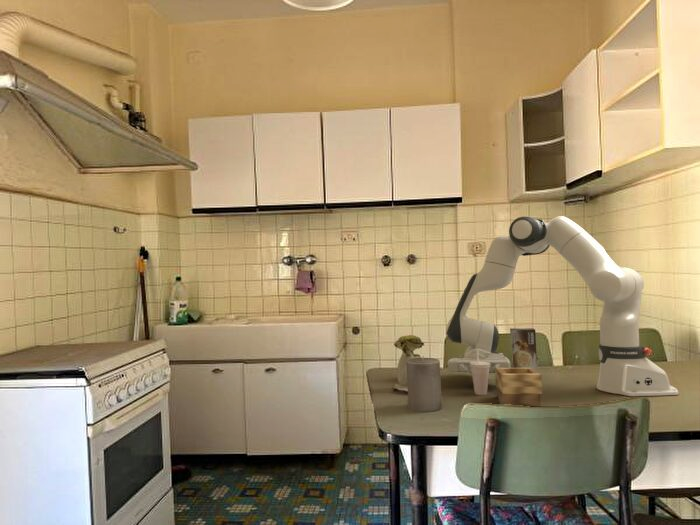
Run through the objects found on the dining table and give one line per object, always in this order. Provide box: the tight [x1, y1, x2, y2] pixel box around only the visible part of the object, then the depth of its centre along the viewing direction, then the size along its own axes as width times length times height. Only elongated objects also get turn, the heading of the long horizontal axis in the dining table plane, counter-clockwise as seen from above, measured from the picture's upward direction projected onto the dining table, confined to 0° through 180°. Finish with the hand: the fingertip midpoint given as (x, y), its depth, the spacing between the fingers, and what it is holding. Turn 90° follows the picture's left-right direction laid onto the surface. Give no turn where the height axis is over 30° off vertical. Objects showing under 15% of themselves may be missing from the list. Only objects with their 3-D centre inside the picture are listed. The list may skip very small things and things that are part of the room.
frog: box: [392, 334, 425, 392], centre depth 172 cm, size 12×13×18 cm
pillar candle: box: [407, 355, 443, 413], centre depth 150 cm, size 10×10×15 cm
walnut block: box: [496, 387, 542, 407], centre depth 154 cm, size 11×11×4 cm
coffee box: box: [509, 327, 538, 370], centre depth 202 cm, size 9×6×16 cm
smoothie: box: [470, 349, 490, 396], centre depth 165 cm, size 6×6×14 cm
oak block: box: [495, 367, 543, 395], centre depth 154 cm, size 11×11×6 cm
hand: (480, 369), depth 166 cm, fingers open, 8 cm apart
